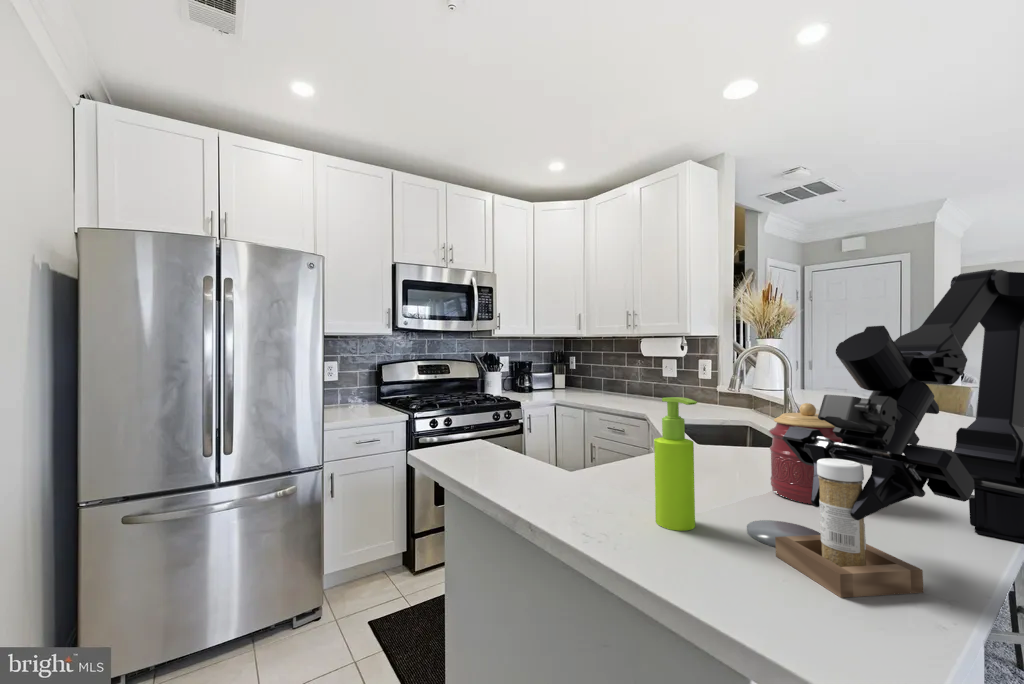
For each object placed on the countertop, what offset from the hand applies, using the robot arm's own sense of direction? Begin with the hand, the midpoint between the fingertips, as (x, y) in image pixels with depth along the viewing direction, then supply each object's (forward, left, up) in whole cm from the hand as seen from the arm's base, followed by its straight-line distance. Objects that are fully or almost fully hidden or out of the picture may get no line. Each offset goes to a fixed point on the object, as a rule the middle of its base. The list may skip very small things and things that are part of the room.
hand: (833, 510), depth 52 cm
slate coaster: (+7, -8, -8) cm, 14 cm away
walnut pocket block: (-1, -1, -8) cm, 8 cm away
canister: (+10, -33, -8) cm, 36 cm away
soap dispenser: (+20, -1, -8) cm, 22 cm away
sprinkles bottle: (-1, -1, -8) cm, 8 cm away
